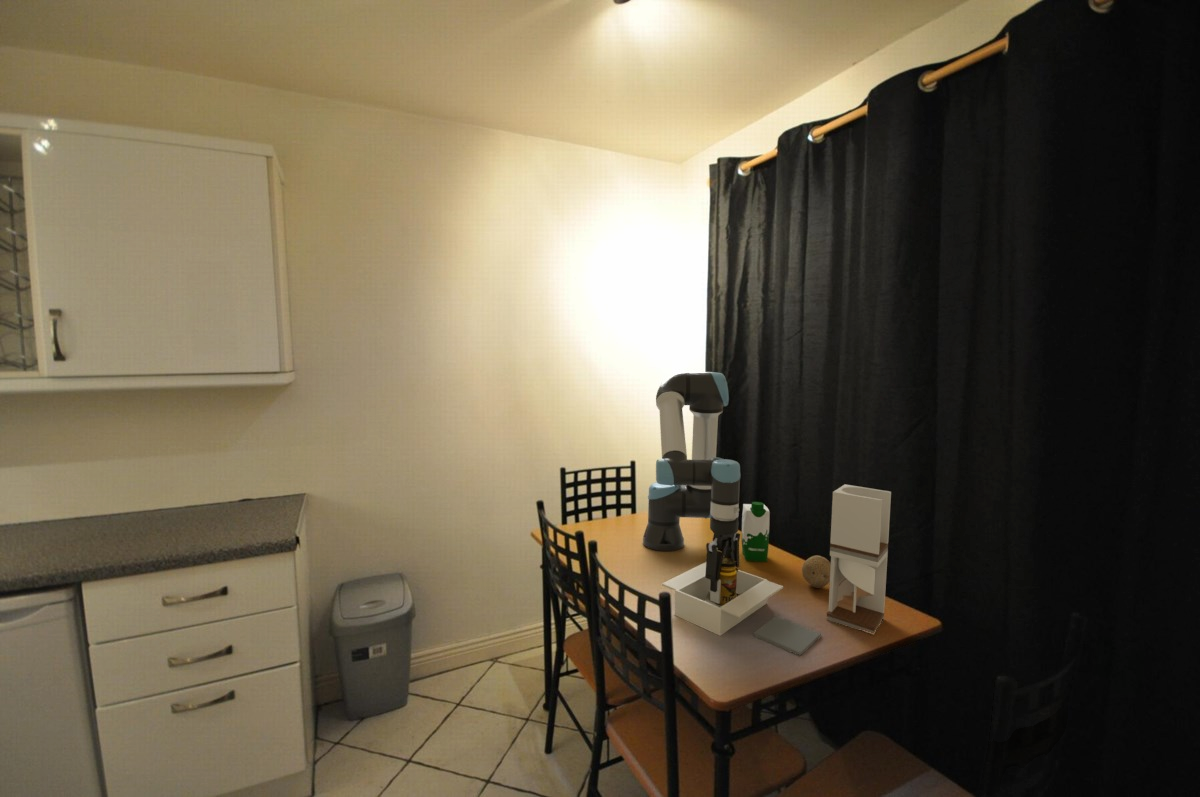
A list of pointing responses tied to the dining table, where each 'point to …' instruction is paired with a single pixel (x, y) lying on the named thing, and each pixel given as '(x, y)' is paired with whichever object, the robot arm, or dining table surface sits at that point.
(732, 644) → the dining table surface
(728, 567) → the condiment
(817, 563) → the natural sponge
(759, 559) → the milk carton
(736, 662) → the dining table surface
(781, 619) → the slate mat
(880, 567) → the white cereal dispenser
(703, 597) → the carton
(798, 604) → the dining table surface
